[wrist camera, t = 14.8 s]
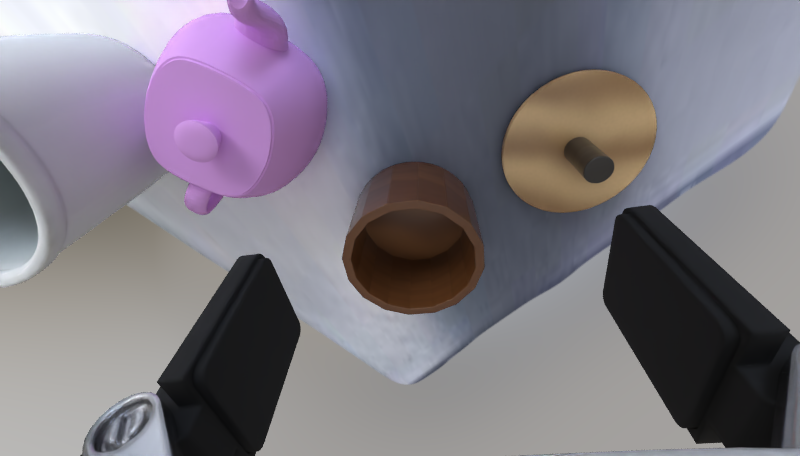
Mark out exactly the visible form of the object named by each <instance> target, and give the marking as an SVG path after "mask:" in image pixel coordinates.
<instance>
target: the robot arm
mask: <svg viewBox="0 0 800 456" xmlns="http://www.w3.org/2000/svg"><path fill="white" fill-rule="evenodd" d="M603 299H604V303H605V305H606V307H607V309H608V310H609V312H610V313H611V315H612V317H613V319H614V320H615V322H616V324H617V325H618V327H619V329H620V330H621V332H622V334H623V335H624V337H625V339H626V340H627V342H628V344H629V345H630V347H631V349H632V350H633V352H634V354H635V355H636V357H637V359H638V360H639V362H640V364H641V365H642V367H643V368H644V370H645V372H646V374H647V375H648V377H649V379H650V380H651V382H652V384H653V385H654V387H655V389H656V390H657V392H658V394H659V395H660V397H661V398H662V400H663V402H664V404H665V405H666V407H667V408H668V410H669V412H670V414H671V415H672V417H673V419H674V420H675V422H676V423H677V424H678V425H679V426H680V427H682V428H687V429H688V431H689V432H690V434H691V436H692V437H693V439H694V441H695V442H696V444H701V443H721V442H722V443H723V445H724V446H725V447H726V448H706V449H666V450H636V451H615V452H614V451H613V452H590V453H569V454H544V455H520V456H800V342H799V341H797V340H796V339H795V338H794V337H793V336H792V335H791V334H790V333H789V332H790V329H788V328H787V327H786V326H785V325H784V324H783V323H782V322H781V321H780V320H779V319H777V318H776V317H775V316H774V315H773V314H772V313H771V312H770V311H769V310H768V309H766V308H765V307H764V306H763V305H762V304H761V303H760V302H759V301H758V300H757V299H755V298H754V297H753V296H752V295H751V294H750V293H749V292H748V291H747V290H746V289H745V288H743V287H742V286H741V285H740V284H739V283H738V282H737V281H736V280H735V279H733V278H732V277H731V276H730V275H729V274H728V273H727V272H726V271H725V270H724V269H723V268H721V267H720V266H719V265H718V264H717V263H716V262H715V261H714V260H713V259H712V258H710V257H709V256H708V255H707V254H706V253H705V252H704V251H703V250H701V248H700V247H698V246H697V245H696V244H695V243H694V242H693V241H692V240H691V239H690V238H688V237H687V236H686V235H685V234H684V233H683V232H682V231H681V230H680V229H678V228H677V227H676V226H675V225H674V224H673V223H672V222H671V221H670V220H669V219H668V218H667V217H665V216H664V215H663V214H662V213H661V212H660V211H659V210H658V209H657V208H656V207H654V206H652V205H647V206H639V207H631V208H626V209H624V211H623V213H622V214H621V215H618V216H617V217H616V219H615V224H614V230H613V236H612V242H611V248H610V254H609V259H608V265H607V272H606V277H605V283H604V289H603ZM299 336H300V323H299V320H298V318H297V316H296V314H295V312H294V309H293V307H292V305H291V303H290V301H289V299H288V296H287V294H286V292H285V290H284V288H283V286H282V283H281V281H280V279H279V277H278V275H277V273H276V270H275V268H274V266H273V264H272V262H271V260H270V259H269V258H265V257H264V256H263V255H262V254H254V255H246V256H241V257H239V258H238V259H237V261H236V262H235V264H234V265H233V267H232V268H231V270H230V271H229V273H228V274H227V276H226V277H225V279H224V280H223V282H222V284H221V285H220V287H219V288H218V290H217V291H216V293H215V294H214V296H213V297H212V299H211V300H210V302H209V303H208V305H207V306H206V308H205V309H204V311H203V313H202V314H201V315H200V317H199V319H198V320H197V322H196V323H195V325H194V326H193V328H192V329H191V331H190V332H189V334H188V336H187V337H186V338H185V340H184V342H183V343H182V344H181V346H180V348H179V349H178V351H177V352H176V354H175V355H174V357H173V358H172V360H171V361H170V363H169V364H168V366H167V368H166V369H165V371H164V372H163V373H162V375H161V377H160V378H159V380H158V381H157V383H158V384H159V385H160V386H161V387H160V388H159V390H158V392H157V393H156V394H153V393H152V392H141V393H137V394H134V395H131V396H129V397H127V398H125V399H123V400H121V401H119V402H118V403H116V404H115V405H114V406H112V407H111V408H109V409H108V410H107V411H106V412H105V413H104V414H103V415H102V416H101V417H99V419H98V420H97V421H96V422H95V424H94V425H93V426H92V427H91V429H90V430H89V432H88V434H87V436H86V438H85V440H84V445H83V453H82V455H81V456H255V454H256V451H259V450H260V449H261V448H262V447H263V444H264V442H265V438H266V436H267V433H268V430H269V426H270V424H271V421H272V418H273V414H274V411H275V408H276V405H277V402H278V399H279V396H280V393H281V390H282V387H283V384H284V381H285V378H286V375H287V372H288V369H289V366H290V363H291V360H292V357H293V354H294V351H295V348H296V345H297V342H298V339H299Z"/></svg>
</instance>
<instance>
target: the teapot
mask: <svg viewBox="0 0 800 456" xmlns="http://www.w3.org/2000/svg"><path fill="white" fill-rule="evenodd" d="M227 3H228V7H229V10H230V12H231V14H227V13H215V14H208V15H204V16H201V17H199V18H196V19H194V20H192V21H190V22H189V23H187V24H186V25H185V26H183V27H182V28H181V29H179V30H178V31H177V33H176V34H175V35H174V36H173V37H172V38H171V40H170V41H169V42H168V43H167V45H166V47H165V49H164V50H163V52H162V54H161V56H160V57H159V59H158V61H157V64H156V66H155V68H154V71H153V73H152V76H151V79H150V82H149V85H148V88H147V93H146V99H145V109H144V123H145V133H146V139H147V142H148V146H149V149H150V151H151V153H152V155H153V156H154V158H155V159H156V161H157V162H158V163H159V164H160V165H161V166H162V167H163V168H165V169H166V170H167V171H169V172H170V173H172V174H173V175H175V176H177V177H179V178H181V179H183V180H185V181H187V182H189V185H188V188H187V190H186V193H185V199H184V202H185V205H186V207H187V208H188V209H189V210H191V211H193V212H194V213H197V214H200V215H206V214H208V213H210V212H211V211H212V210H213V209H214V208H215V207H216V205H217V204H218V203H219V202H220V200H221V199H222V198H223V196H226V197H233V198H248V197H258V196H263V195H266V194H270V193H272V192H275V191H277V190H279V189H281V188H282V187H284V186H286V185H287V184H288V183H290V182H291V181H292V180H293V179H294V178H296V177H297V176H298V175H299V174H300V173H301V172H302V171H303V170H304V168H305V167H306V166H307V165H308V164H309V162H310V161H311V160H312V158H313V157H314V155H315V153H316V151H317V149H318V147H319V145H320V143H321V140H322V137H323V134H324V129H325V125H326V117H327V92H326V87H325V83H324V80H323V77H322V75H321V73H320V71H319V69H318V68H317V66H316V64H315V63H314V62H313V61H312V60H311V59H310V57H309V56H307V55H306V54H305V53H304V52H303V51H301V50H300V49H299V48H298V47H296V46H295V45H294V44H292V43H291V42H289V41H288V33H287V28H286V26H285V23H284V21H283V20H282V18H281V17H280V15H279V14H278V13H277V12H276V11H274V10H273V9H272V8H271V7H270V6H268V5H267V4H265V3H263V2H261V1H260V0H227Z"/></svg>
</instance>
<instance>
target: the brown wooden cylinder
mask: <svg viewBox="0 0 800 456" xmlns="http://www.w3.org/2000/svg"><path fill="white" fill-rule="evenodd" d="M342 260H343V263H344V267H345V270H346V273H347V277H348V280H349V281H350V282H351V284H352V285H353V286H354V287H355V288H356V289H357V291H358V292H359V293H360V294H361V295H362V296H363V297H364V298H365V299H367V300H369V301H371V302H372V303H374V304H376V305H378V306H379V307H381V308H383V309H385V310H389V311H394V312H399V313H404V314H408V315H409V314H423V313H435V312H438V311H440V310H443V309H445V308H448V307H450V306H453V305H455V304H457V303H458V302H460V301H461V300H462V299H463V298H464V297H465V296H466V295H468V294H469V293H470V292H471V291H472V290H473V289H474V288H475V287H476V285H477V283H478V281H479V278H480V276H481V274H482V272H483V270H484V267H485V264H484V245H483V241H482V237H481V233H480V229H479V225H478V221H477V217H476V213H475V209H474V205H473V201H472V199H471V198H470V196H469V193H468V191H467V189H466V188H465V186H464V185H463V183H462V182H461V181H460V180H459V179H458V178H457V177H455V176H454V175H453V174H452V173H450V172H449V171H447V170H445V169H443V168H441V167H439V166H436V165H433V164H429V163H424V162H406V163H400V164H396V165H393V166H390V167H388V168H386V169H384V170H382V171H381V172H379V173H378V174H376V175H375V176H374V177H373V178H372V179H371V180H370V181H369V182H368V183H367V185H366V186H365V188H364V189H363V191H362V192H361V194H360V195H359V198H358V201H357V205H356V208H355V211H354V214H353V217H352V220H351V223H350V226H349V229H348V233H347V236H346V240H345V245H344V250H343V256H342Z"/></svg>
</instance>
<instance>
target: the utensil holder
mask: <svg viewBox="0 0 800 456" xmlns="http://www.w3.org/2000/svg"><path fill="white" fill-rule="evenodd" d="M154 68H155V66H154V65H153V64H152V63H151V62H150V61H149V60H148V59H146V58H145V57H144V56H143V55H141V54H140V53H139V52H137V51H136V50H134V49H132V48H131V47H129V46H127V45H125V44H124V43H121V42H119V41H117V40H114V39H112V38H108V37H105V36H101V35H95V34H86V33H64V34H33V35H14V36H0V288H3V287H9V286H13V285H17V284H20V283H23V282H25V281H27V280H29V279H31V278H32V277H34V276H35V275H37V274H38V273H40V272H41V271H43V270H44V269H45V268H46V267H47V266H49V265H50V264H51V263H52V262H53V261H54V260H55V258H56V257H57V256H58V254H59V253H60V252H61V251H63V250H64V249H66V248H67V247H68V246H70V245H71V244H73V243H74V242H75V241H77V240H78V239H80V238H81V237H82V236H84V235H85V234H86V233H88V232H89V231H90V230H92V229H93V228H94V227H96V226H97V225H98V224H100V223H101V222H102V221H104V220H105V219H107V218H108V217H109V216H111V215H112V214H113V213H115V212H116V211H117V210H119V209H120V208H122V207H123V206H124V205H126V204H127V203H129V202H130V201H131V200H133V199H134V198H135V197H137V196H138V195H139V194H141V193H142V192H143V191H145V190H146V189H147V188H149V187H150V186H151V185H152V184H154V183H155V182H156V181H157V180H159V179H160V178H161V177H162V176H164V175H165V174H166V173H167V172H169V171H167V170H166V169H165V168H163V167H162V166H161V165H160V164H159V163H158V162H157V161H156V159H155V158H154V156H153V155H152V153H151V151H150V149H149V146H148V142H147V139H146V133H145V123H144V109H145V99H146V93H147V88H148V85H149V82H150V79H151V76H152V73H153V71H154Z"/></svg>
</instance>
